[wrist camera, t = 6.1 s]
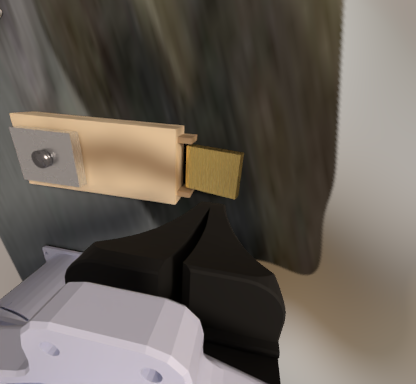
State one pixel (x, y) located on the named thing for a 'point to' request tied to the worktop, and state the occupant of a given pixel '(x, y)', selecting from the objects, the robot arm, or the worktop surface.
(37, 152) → the lever cap
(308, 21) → the worktop surface
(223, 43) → the worktop surface
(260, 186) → the worktop surface
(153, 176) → the board
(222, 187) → the lever
